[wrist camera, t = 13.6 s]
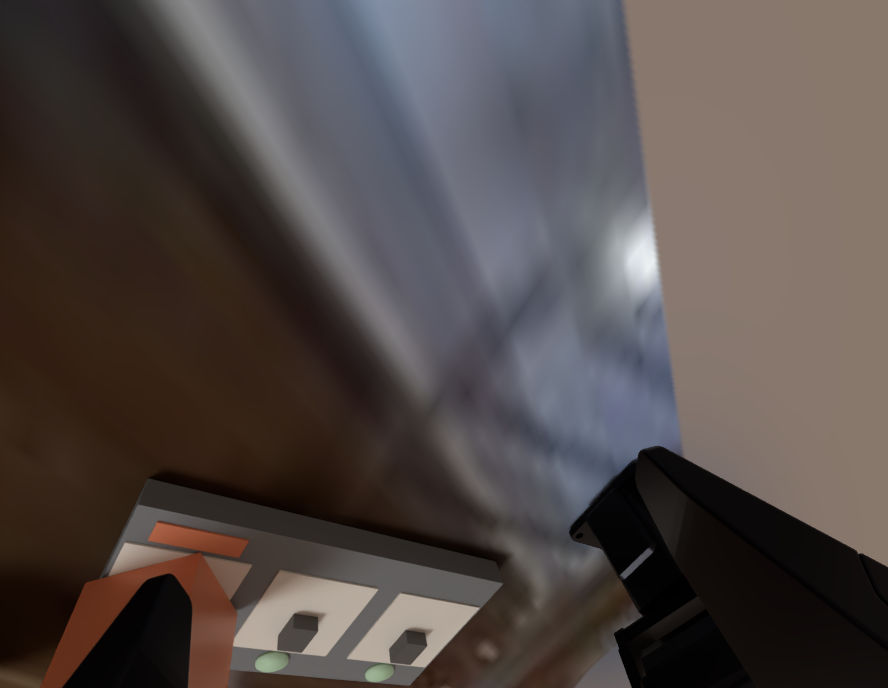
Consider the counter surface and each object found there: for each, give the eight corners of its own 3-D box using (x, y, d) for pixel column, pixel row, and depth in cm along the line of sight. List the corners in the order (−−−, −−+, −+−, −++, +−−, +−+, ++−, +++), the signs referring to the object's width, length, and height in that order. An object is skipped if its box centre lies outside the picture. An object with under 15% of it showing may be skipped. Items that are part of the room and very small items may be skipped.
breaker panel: (495, 561, 31) (508, 597, 29) (405, 662, 34) (411, 700, 32) (148, 478, 22) (131, 521, 20) (76, 624, 26) (56, 673, 24)
